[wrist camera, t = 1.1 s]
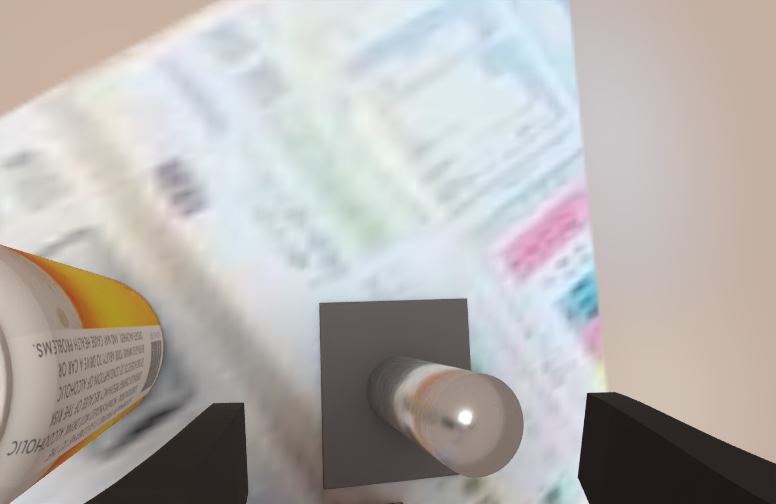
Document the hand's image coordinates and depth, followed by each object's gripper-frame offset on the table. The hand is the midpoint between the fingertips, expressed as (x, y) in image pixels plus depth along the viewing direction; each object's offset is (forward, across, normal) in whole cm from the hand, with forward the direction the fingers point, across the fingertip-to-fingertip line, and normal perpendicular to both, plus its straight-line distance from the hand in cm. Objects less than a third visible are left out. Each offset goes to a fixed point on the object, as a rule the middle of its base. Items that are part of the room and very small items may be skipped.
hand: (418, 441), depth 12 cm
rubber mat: (+13, -1, +6) cm, 14 cm away
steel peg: (+13, -1, +6) cm, 14 cm away
